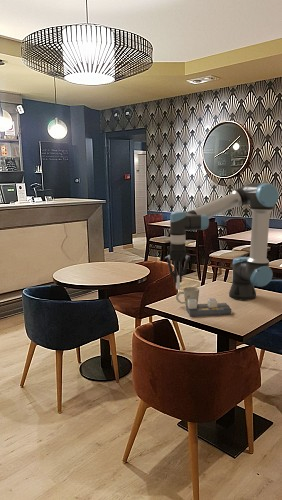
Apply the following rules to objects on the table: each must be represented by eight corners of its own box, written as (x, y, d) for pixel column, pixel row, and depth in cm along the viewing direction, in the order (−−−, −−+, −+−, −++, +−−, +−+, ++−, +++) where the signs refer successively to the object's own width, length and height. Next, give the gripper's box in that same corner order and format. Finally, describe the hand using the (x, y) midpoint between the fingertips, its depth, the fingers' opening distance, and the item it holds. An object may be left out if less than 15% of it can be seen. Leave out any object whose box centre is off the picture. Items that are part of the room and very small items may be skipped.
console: (226, 308, 209) (226, 302, 209) (231, 314, 199) (231, 308, 199) (186, 310, 208) (186, 304, 207) (189, 316, 198) (189, 310, 197)
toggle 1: (195, 305, 205) (195, 298, 204) (196, 308, 201) (196, 301, 200) (187, 306, 204) (187, 299, 204) (189, 308, 200) (188, 301, 200)
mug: (198, 309, 208) (198, 291, 206) (175, 308, 210) (174, 290, 208) (199, 304, 216) (199, 287, 214) (176, 303, 218) (176, 286, 217)
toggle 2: (215, 304, 205) (215, 297, 204) (217, 307, 201) (217, 300, 201) (207, 305, 205) (207, 298, 204) (209, 307, 201) (209, 300, 200)
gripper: (189, 241, 200) (189, 286, 204) (163, 242, 199) (164, 287, 203) (192, 243, 192) (191, 290, 197) (165, 244, 192) (165, 291, 196)
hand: (177, 288), depth 200 cm, fingers closed
